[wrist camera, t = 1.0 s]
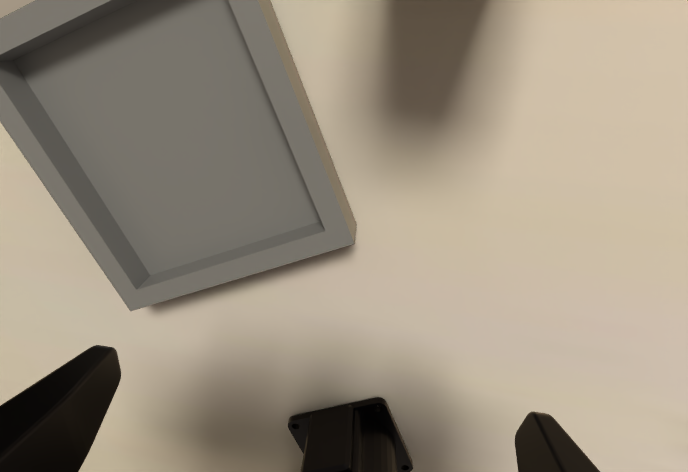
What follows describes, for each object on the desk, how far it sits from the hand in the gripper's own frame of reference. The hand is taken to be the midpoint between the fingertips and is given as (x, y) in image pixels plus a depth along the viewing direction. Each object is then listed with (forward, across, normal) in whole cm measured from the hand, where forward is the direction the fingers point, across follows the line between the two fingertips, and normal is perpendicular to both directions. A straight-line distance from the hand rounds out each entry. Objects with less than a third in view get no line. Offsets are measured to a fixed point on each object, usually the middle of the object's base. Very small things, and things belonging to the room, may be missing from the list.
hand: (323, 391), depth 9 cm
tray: (+12, +8, 0) cm, 15 cm away
